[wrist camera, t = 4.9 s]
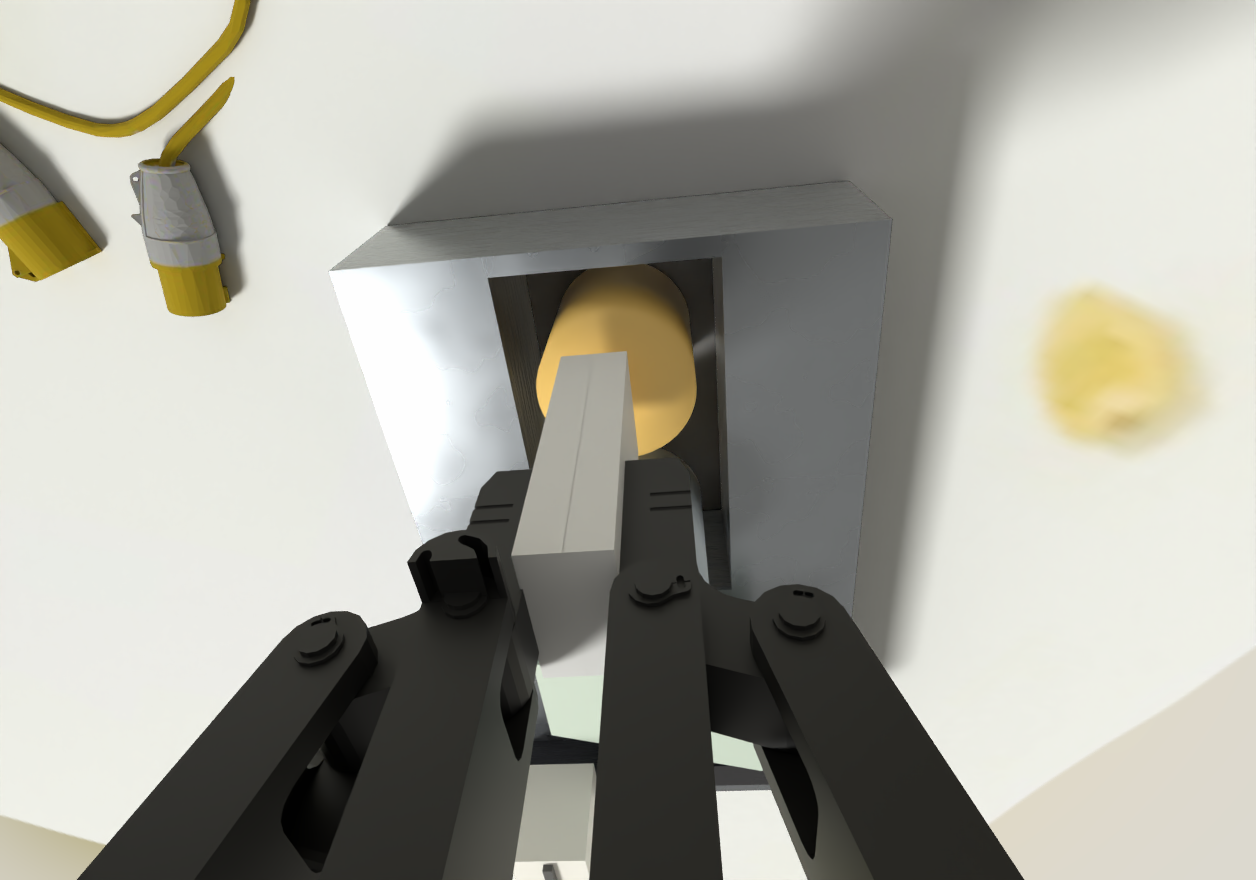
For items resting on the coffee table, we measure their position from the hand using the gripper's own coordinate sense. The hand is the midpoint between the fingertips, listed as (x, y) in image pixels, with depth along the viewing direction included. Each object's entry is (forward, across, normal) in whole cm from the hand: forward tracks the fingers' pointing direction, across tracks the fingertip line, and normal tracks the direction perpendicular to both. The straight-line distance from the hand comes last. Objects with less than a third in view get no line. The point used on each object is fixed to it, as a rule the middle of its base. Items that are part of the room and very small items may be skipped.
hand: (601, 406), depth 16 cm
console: (+6, 0, -8) cm, 10 cm away
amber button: (+5, 0, 0) cm, 5 cm away
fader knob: (0, -3, -16) cm, 16 cm away
